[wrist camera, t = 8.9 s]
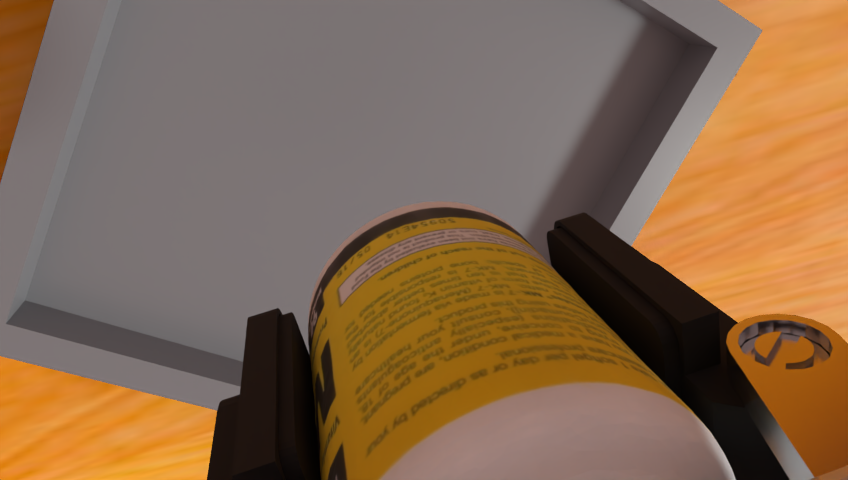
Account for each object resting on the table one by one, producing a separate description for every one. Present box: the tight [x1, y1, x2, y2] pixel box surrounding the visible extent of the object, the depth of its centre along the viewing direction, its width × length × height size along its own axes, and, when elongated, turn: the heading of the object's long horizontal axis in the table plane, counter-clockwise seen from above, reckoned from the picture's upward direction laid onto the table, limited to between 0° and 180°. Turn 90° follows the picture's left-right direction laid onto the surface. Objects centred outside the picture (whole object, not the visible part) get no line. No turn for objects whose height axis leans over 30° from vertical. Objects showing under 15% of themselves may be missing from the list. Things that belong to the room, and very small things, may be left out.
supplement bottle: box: [308, 201, 736, 480], centre depth 8 cm, size 5×5×8 cm
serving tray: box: [0, 0, 762, 410], centre depth 21 cm, size 20×20×2 cm
